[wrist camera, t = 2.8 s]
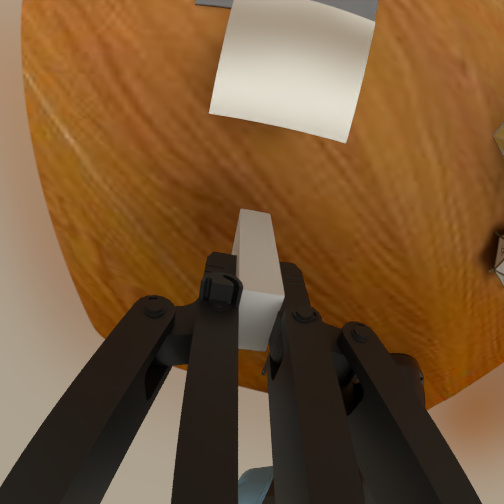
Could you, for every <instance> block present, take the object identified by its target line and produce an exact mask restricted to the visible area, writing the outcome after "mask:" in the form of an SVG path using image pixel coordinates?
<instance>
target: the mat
mask: <svg viewBox="0 0 504 504" xmlns="http://www.w3.org/2000/svg"><path fill="white" fill-rule="evenodd" d="M233 1H234V0H196V2H195V4H196V5H204V6H214V7H223V8H230V9H232V5H233ZM311 1H315V2H319V3H322V4H325V5H329V6H332V7H335V8H338V9H341V10H344V11H347V12H350V13H353V14H356V15H358V16H361V17H364V18H366V19H369V20H371V21H375V16H376V11H377V6H378V0H311Z"/></svg>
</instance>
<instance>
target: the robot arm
mask: <svg viewBox="0 0 504 504" xmlns="http://www.w3.org/2000/svg"><path fill="white" fill-rule="evenodd" d="M268 343H269V349H270V352H269V355H268V357H267V360H266V363H265V365H264V368H263V371H262V375H265V373H266V370H267V379H268V394H269V410H270V425H271V441H272V457H273V466H269V467H261V468H254V469H250V470H248V471H246V472H245V473H243V474H242V476H241V477H240V479H239V480H238V349H247V350H255V351H264V352H266V349H267V346H268ZM182 364H188V369H187V377H186V383H185V390H184V397H183V404H182V412H181V419H180V427H179V435H178V443H177V451H176V460H175V469H174V478H173V479H174V480H173V488H172V498H171V504H482V503H481V501H480V499H479V497H478V496H477V494H476V492H475V490H474V488H473V486H472V485H471V483H470V481H469V479H468V478H467V476H466V474H465V473H464V471H463V469H462V467H461V466H460V464H459V462H458V461H457V459H456V457H455V455H454V454H453V452H452V450H451V449H450V447H449V445H448V444H447V442H446V441H445V439H444V437H443V436H442V434H441V433H440V431H439V429H438V428H437V426H436V424H435V423H434V421H433V420H432V418H431V416H430V415H429V413H428V412H427V410H426V409H425V393H424V386H423V385H424V377H423V373H422V371H421V369H420V367H419V364H418V362H417V361H416V360H415V359H414V358H412V357H410V356H408V355H403V354H389V353H388V351H387V350H386V349H385V347H384V346H383V344H382V343H381V341H380V340H379V338H378V337H377V336H376V334H375V333H374V332H373V331H372V329H371V328H370V327H368V326H366V325H365V324H362V323H359V322H352V321H351V322H348V323H346V324H345V325H344V326H343V328H342V329H340V328H337V327H334V326H331V325H328V324H326V323H324V322H322V318H321V316H320V314H319V312H317V311H316V310H315V309H314V308H313V307H311V306H310V302H309V298H308V294H307V291H306V287H305V283H304V280H303V276H302V272H301V270H300V269H299V268H298V267H297V266H296V265H295V264H292V263H285V262H279V259H278V254H277V248H276V243H275V237H274V232H273V226H272V221H271V215H270V214H269V213H263V212H258V211H252V210H247V209H240V214H239V219H238V224H237V229H236V234H235V239H234V244H233V249H232V254H225V253H219V252H212V253H211V254H210V255H209V256H208V257H207V261H206V267H205V272H204V277H203V278H202V280H201V286H200V294H199V298H198V299H197V301H195V302H194V303H192V304H189V305H185V306H176V307H174V304H173V303H172V302H171V301H170V300H168V299H166V298H164V297H161V296H157V295H152V296H146V297H143V298H140V299H139V300H138V301H137V302H136V303H135V304H134V305H133V306H132V307H131V309H130V310H129V311H128V312H127V313H126V315H125V316H124V317H123V318H122V320H121V321H120V322H119V323H118V325H117V326H116V327H115V328H114V329H113V331H112V332H111V333H110V334H109V336H108V337H107V338H106V339H105V341H104V342H103V343H102V345H101V346H100V347H99V348H98V350H97V351H96V352H95V354H94V355H93V356H92V357H91V359H90V360H89V361H88V363H87V364H86V365H85V366H84V368H83V369H82V370H81V372H80V373H79V374H78V376H77V377H76V378H75V380H74V381H73V382H72V384H71V385H70V386H69V388H68V389H67V391H66V392H65V393H64V395H63V396H62V397H61V398H60V400H59V401H58V403H57V404H56V405H55V407H54V408H53V409H52V411H51V412H50V414H49V415H48V416H47V418H46V419H45V421H44V422H43V423H42V425H41V426H40V428H39V429H38V431H37V432H36V434H35V435H34V436H33V438H32V439H31V441H30V442H29V444H28V445H27V447H26V449H25V450H24V451H23V453H22V454H21V456H20V457H19V459H18V461H17V462H16V463H15V465H14V466H13V468H12V470H11V471H10V473H9V474H8V476H7V477H6V479H5V481H4V482H3V484H2V486H1V487H0V504H100V503H101V501H102V499H103V497H104V494H105V493H106V491H107V489H108V487H109V485H110V483H111V481H112V479H113V477H114V475H115V474H116V472H117V470H118V468H119V466H120V464H121V462H122V460H123V458H124V456H125V454H126V453H127V451H128V449H129V447H130V445H131V443H132V441H133V439H134V437H135V435H136V434H137V432H138V430H139V428H140V426H141V424H142V422H143V420H144V418H145V416H146V415H147V413H148V411H149V409H150V407H151V405H152V403H153V401H154V400H155V398H156V396H157V394H158V392H159V390H160V389H161V387H162V385H163V383H164V381H165V379H166V377H167V375H168V374H169V371H170V370H171V368H172V366H173V365H182Z"/></svg>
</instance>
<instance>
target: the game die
mask: <svg viewBox="0 0 504 504" xmlns="http://www.w3.org/2000/svg"><path fill="white" fill-rule="evenodd" d="M495 234H496V236H497V237H499V240H498V247H497V253H496V259H495V264H493V265H492V266H493V267H494V269H493V268H492V269H490V270H489V271H488V272H490V273H493V272H495V273H496V275H497V277H498V278H499V280H500V281H501V283H502V285H503V286H504V235H501V236H500V233H498V232H496V231H495Z"/></svg>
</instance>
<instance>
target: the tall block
mask: <svg viewBox="0 0 504 504" xmlns="http://www.w3.org/2000/svg"><path fill="white" fill-rule="evenodd" d="M374 27H375V22H374V21H371V20H369V19H366V18H364V17H361V16H358V15H356V14H353V13H350V12H347V11H344V10H341V9H338V8H335V7H332V6H329V5H325V4H322V3H319V2H315V1H311V0H234V1H233V5H232V9H231V13H230V17H229V21H228V25H227V29H226V34H225V38H224V42H223V47H222V51H221V56H220V60H219V65H218V70H217V75H216V80H215V84H214V90H213V95H212V100H211V105H210V110H209V114H215V115H221V116H227V117H233V118H239V119H244V120H250V121H255V122H260V123H265V124H270V125H274V126H279V127H284V128H288V129H292V130H297V131H301V132H305V133H309V134H313V135H317V136H321V137H325V138H328V139H332V140H336V141H339V142H343V143H346V142H347V138H348V134H349V131H350V127H351V123H352V119H353V116H354V112H355V108H356V104H357V100H358V96H359V92H360V88H361V84H362V80H363V76H364V72H365V68H366V63H367V59H368V55H369V50H370V46H371V41H372V36H373V32H374Z"/></svg>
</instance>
